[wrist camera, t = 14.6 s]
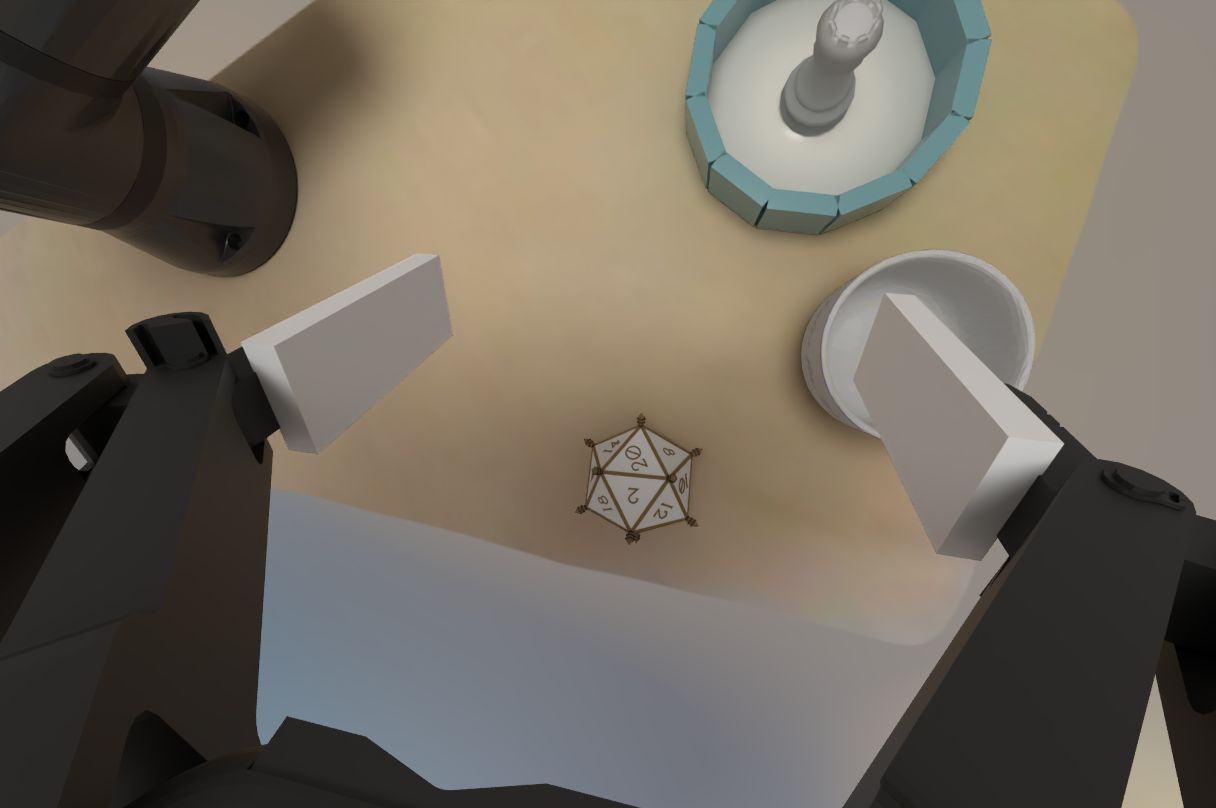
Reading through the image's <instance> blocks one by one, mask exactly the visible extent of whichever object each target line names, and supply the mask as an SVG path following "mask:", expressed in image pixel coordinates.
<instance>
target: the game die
mask: <svg viewBox="0 0 1216 808" xmlns="http://www.w3.org/2000/svg"><path fill="white" fill-rule="evenodd" d="M637 419H638V421H637V423H638V426H636V427H634V428H632V429H629V430H627V431H625V432H623V433H620V434H618V435H616V436H613V437H611V438H609V439H607V440H604V441H602V442H600V443H597V444H594V443H593V441H591V439H584V441H585V443H586V445H588V447H592V454H591V462H590V470H589V478H588V487H587V495H586V503H585V505H584V506H582V505H581V506H580V507H578V508H577V510H576V511H575V513H580V514H582V513H583V512H585V511H586V510H587V509H588V510H590V511H592V512H593V513H595V514H597V515H598V516H600V517H602V518H604V519H605V520H607V521H609V522H611V523H612V524H614V525H616V526H618V527H619V528H621V529H623V530H625V531H626V532H628V534H626V538H625V539H626V541H627V542H628V544H629V545H630V544H631V542H633V541H635V542H636V543H637V541H639V539H640V535H639V533H641V532H644V531H648V530H651V529H655V528H658V527H662V526H666V525H669V524H673V523H676V522H680V521H683V520H686V521H687V522H688V524H690V525H691V526H697V527H698V525H697V523H696V521H695V520H694V519H693V518H691V517H689V516H688V510H689V495H690V481H691V466H692V457H693V456H697V455H700V453H701V451H702V450H703V449H699V448H696V449H694V450H693V451H692V452H688V451H686V450H685V449H683V448H681V447H679V446H678V445H676V444H674V443H672V442H671V441H669V440H667V439H666V438H664V437H662V436H660V435H659V434H657V433H655V432H653V431H652V430H650V429H648V428H647V427H645V426H644V423H645V417H644V416H643V414H642V413H641V414H640V416H639V417H638V418H637ZM633 533H634V534H633Z"/></svg>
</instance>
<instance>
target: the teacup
mask: <svg viewBox="0 0 1216 808" xmlns="http://www.w3.org/2000/svg"><path fill="white" fill-rule="evenodd" d="M884 293H893V294H904V295H915V296H916V297H917V298H918V299H919V300H920V301H921V302H922V303H923V304H924V305H925V306H926V307H927V308H928V309H929V310H930V311H931V312H932V313H933V314H934V315H935V316H936V317H937V318H938V319H939V320H940V321H941V322H942V323H943V324H944V325H945V326H946V327H947V328H948V329H949V330H950V331H951V332H952V333H953V334H954V335H955V336H956V337H957V338H958V339H959V340H960V341H961V342H962V343H963V344H964V345H965V346H966V347H967V348H968V349H969V350H970V351H971V352H972V353H973V354H974V355H975V356H976V357H977V358H978V359H979V360H980V361H981V362H982V363H983V364H984V365H985V366H986V367H987V368H988V369H989V370H990V371H991V372H992V373H993V374H994V375H996V376H997V377H998V378H999V379H1000V380H1001V381H1002V382H1003V383H1006V384H1010V385H1011V386H1013V387H1015V388H1017V389H1018V390H1020V391H1022V390H1023V388H1024V386H1025V384H1026V383H1027V381H1028V378H1029V376H1030V373H1031V369H1032V366H1033V361H1034V356H1035V334H1034V323H1033V319H1032V316H1031V313H1030V310H1029V308H1028V306H1027V304H1026V302H1025V300H1024V298H1023V296H1022V294H1021V293H1020V291H1019V290H1018V289H1017V288H1016V286H1015V285H1014V284H1013V283H1012V282H1011V281H1010V280H1009V279H1008V278H1007V277H1006V276H1005V275H1004V274H1003V273H1002V272H1000V271H999V270H997V269H996V268H995V267H993V266H992V265H990V264H988V263H987V262H985V261H983V260H981V259H979V258H976V257H973V256H971V255H968V254H964V253H961V252H956V251H952V250H921V251H913V252H907V253H904V254H900V255H897V256H893V257H890V258H888V259H886V260H883V261H881V262H879V263H877V264H875V265H873V266H872V267H870V268H868V269H867V270H865V271H864V272H862V273H861V274H859V275H858V276H857V277H856V278H854V279H852V280H850V281H849V282H847V283H846V284H844V285H843V286H841V287H840V288H839V289H837V290H836V291H835V292H833V293H832V294H831V295H830V296H829V297H828V298H827V299H826V300H825V301H824V302H823V303H822V304H821V305H820V306H819V308H818V309H817V310H816V312H815V313H814V315H813V316H812V318H811V320H810V322H809V324H808V326H807V328H806V331H805V334H804V338H803V342H802V349H801V364H802V370H803V375H804V378H805V381H806V384H807V386H808V388H809V390H810V392H811V394H812V395H813V397H814V398H815V399H816V401H817V402H818V403H819V404H820V406H821V407H822V408H823V409H824V410H826V411H827V412H828V413H829V414H830V415H831V416H833V417H834V418H836V419H837V420H839V421H840V422H842V423H844V424H846V425H848V426H850V427H852V428H855V429H857V430H860V431H862V432H865V433H868V434H870V435H872V436H874V437H876V438H878V439H881V437H880V435H879V433H878V431H877V429H876V427H875V425H874V423H873V421H872V419H871V417H870V415H869V412H868V410H867V408H866V406H865V404H864V402H863V400H862V398H861V396H860V394H859V392H858V390H857V388H856V385H855V383H854V381H853V379H854V376H855V373H856V370H857V367H858V365H859V362H860V359H861V356H862V354H863V351H864V348H865V345H866V343H867V340H868V337H869V334H870V331H871V329H872V326H873V323H874V320H875V318H876V315H877V312H878V309H879V306H880V304H881V301H882V298H883V295H884Z"/></svg>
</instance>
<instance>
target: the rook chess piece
mask: <svg viewBox="0 0 1216 808" xmlns="http://www.w3.org/2000/svg"><path fill="white" fill-rule="evenodd" d="M883 10H884V9H883V6H882V2H881V0H879V1H878V2H876V3H874V2H873V1H872V0H837V1H835V2H833V3H832V4H831V5H830V6H829V7H828V8H827V9H826V10H825V11H824V12H823V14H822V16H821V18H820V20H819V22H818V24H817V31H816V41H815V43H814V49H813V55H812V56H810V57H808V58H805V59H804V60H803V61H802V62H801V63H800V64H799V65H798V66H797V67H796V68H795V69H794V70H793V71H792V72H791V74H790V76H789V78H788V79H787V81H786V83H785V85H784V87H783V90H782V92H781V99H780V108H781V112H782V115H783V118H784V120H785V121H786V122H787V123H788V124H789V125H790V126H791V128H792V129H794V130H797V131H799V132H802V133H804V134H819V133H822V132H824V131H827V130H829V129H831V128H833V127H834V126H835V125H836V124H837V123H838V122H840V121H841V120H842V119H843V118H844V116H845V114H846V112H847V110H848V108H849V106H850V104H851V102H852V100H853V98H854V93H855V84H856V78H855V74H854V70H855V69H856V68H857V67H858V66H859V65H860V64H861V63H862V61H863V59H864V58H865V57H866V56H867V55H868V54H869V53H870V52H872V51H873V50H874V49H875V48H876V46H877V44H878V42H879V40H880V38H881V37H882V33H883V25H884V20H883V17H882V12H883Z"/></svg>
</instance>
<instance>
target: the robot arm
mask: <svg viewBox="0 0 1216 808" xmlns="http://www.w3.org/2000/svg"><path fill="white" fill-rule="evenodd" d="M199 1H200V0H0V210H2V211H7V212H12V213H17V214H22V215H27V216H32V217H37V218H42V219H47V220H52V221H57V222H62V223H67V224H73V225H77V226H82V227H86V228H91V229H96V230H100V231H103V232H105V233H107V234H109V235H111V236H113V237H115V238H117V239H120V240H122V241H124V242H126V243H128V244H130V245H132V246H134V247H136V248H138V249H140V250H142V251H144V252H146V253H148V254H150V255H152V256H154V257H156V258H158V259H160V260H163V261H165V262H167V263H169V264H171V265H173V266H175V267H178V268H181V269H184V270H188V271H192V272H197V273H203V274H208V275H214V276H235V275H240V274H243V273H246V272H249V271H251V270H253V269H255V268H256V267H258V266H260V265H261V264H262V263H264V262H265V261H266V260H267V259H268V258H269V257H270V256H271V255H272V254H273V253H274V252H275V251H276V250H277V248H278V247H279V246H280V244H281V242H282V241H283V239H284V237H285V235H286V233H287V231H288V229H289V226H290V224H291V221H292V217H293V213H294V208H295V202H296V175H295V168H294V163H293V159H292V156H291V153H290V150H289V147H288V145H287V142H286V140H285V138H284V136H283V135H282V133H281V131H280V130H279V128H278V127H277V125H276V124H275V123H274V121H273V120H272V119H271V118H270V117H269V116H268V115H267V114H266V113H265V112H264V111H263V110H262V109H261V108H259V107H258V106H257V105H255V104H254V103H252V102H250V101H249V100H247V99H245V98H243V97H242V96H240V95H238V94H236V93H235V92H233V91H231V90H229V89H228V88H226V87H223V86H221V85H218V84H216V83H213V82H210V81H206V80H202V79H197V78H194V77H189V76H185V75H180V74H176V73H172V72H168V71H164V70H159V69H155V68H150V67H147V65H148V64H149V63H150V61H151V60H152V59H153V58H154V56H155V55H156V54H157V53H158V52H159V50H160V49H161V48H162V47H163V45H164V44H165V43H166V42H167V40H168V39H169V38H170V37H171V35H172V34H173V33H174V32H175V30H176V29H177V28H178V27H179V26H180V24H181V23H182V22H183V21H184V19H185V18H186V17H187V16H188V14H189V13H190V12H191V11H192V9H193V8H194V7H195V6H196V5H197V3H198V2H199ZM125 332H126V334H127V335H128V337H129V339H130V340H131V342H132V344H133V345H134V347H135V349H136V350H137V352H138V354H139V356H140V357H141V359H142V361H143V362H144V364H145V366H146V367H147V370H146V372H145V374H128V375H126V373H125V371H124V370H123V368H122V367H121V365H120V363H119V362H118V360H117V359H116V357H115V355H112V354H108V353H90V354H73V355H69V356H64V357H60V358H57V359H55V360H53V361H51V362H50V363H48V364H45V365H43V366H41V367H39V368H37V369H35V370H33V371H31V372H30V373H28V374H27V375H25V376H23V377H22V378H20V379H19V380H17V381H16V382H14V383H13V384H11V385H10V386H8V387H7V388H5V389H4V390H2V391H1V392H0V808H638V807H635V806H631V805H627V804H623V803H619V802H616V801H612V800H608V799H604V798H600V797H596V796H592V795H589V794H585V793H581V792H576V791H573V790H569V789H565V788H562V787H558V786H554V785H550V784H535V785H521V786H505V787H491V788H477V789H464V790H443V789H439V788H437V787H435V786H433V785H432V784H430V783H429V782H428V781H426V780H425V779H423V778H422V777H421V776H419V775H418V774H416V773H415V772H414V771H412V770H411V769H410V768H408V767H407V766H406V765H404V764H403V763H401V762H400V761H399V760H397V759H396V758H395V757H393V756H392V755H390V754H389V753H388V752H386V751H385V750H383V749H382V748H381V747H379V746H378V745H377V744H375V743H374V742H372V741H371V740H370V739H368V738H367V737H365V736H361V735H357V734H353V733H349V732H346V731H342V730H338V729H334V728H330V727H326V726H322V725H319V724H315V723H311V722H307V721H303V720H299V719H295V718H291V717H288V716H287V717H286V719H285V720H284V721H283V723H282V724H281V726H280V727H279V729H278V730H277V731H276V733H275V734H274V736H273V737H272V738H271V740H270V741H269V743H268V744H265V745H261V743H260V740H259V736H258V732H257V726H256V705H257V691H258V675H259V660H260V643H261V628H262V613H263V597H264V582H265V566H266V551H267V535H268V518H269V503H270V489H271V473H272V458H273V451H272V448H271V446H270V444H269V442H268V440H267V437H268V436H270V435H271V434H273V433H274V432H275V431H277V430H278V429H280V431H281V433H282V435H283V438H284V440H285V442H286V444H287V447H288V449H289V450H295V451H301V452H307V453H313V454H319V453H320V452H321V451H322V450H323V449H325V448H326V447H327V446H328V445H329V444H330V443H331V442H332V441H334V440H335V439H336V438H337V437H338V436H339V435H340V434H342V433H343V432H344V431H345V430H346V429H347V428H348V427H349V426H351V425H352V424H353V423H354V422H355V421H356V420H357V419H359V418H360V417H361V416H362V415H363V414H364V413H365V412H367V411H368V410H369V409H370V408H371V407H372V406H373V405H374V404H376V403H377V402H378V401H379V400H380V399H381V398H382V397H384V396H385V395H386V394H387V393H388V392H389V391H390V390H391V389H393V388H394V387H395V386H396V385H397V384H398V383H399V382H401V381H402V380H403V379H404V378H405V377H406V376H407V375H408V374H410V373H411V372H412V371H413V370H414V369H415V368H416V367H418V366H419V365H420V364H421V363H422V362H423V361H424V360H426V359H427V358H428V357H429V356H430V355H431V354H432V353H433V352H435V351H436V350H437V349H438V348H439V347H440V346H441V345H443V344H444V343H445V342H446V341H447V340H448V339H449V338H450V337H452V336H453V333H452V327H451V321H450V316H449V310H448V304H447V298H446V293H445V287H444V281H443V275H442V269H441V264H440V258H439V255H431V254H419V253H416V254H414V255H412V256H410V257H408V258H406V259H404V260H402V261H400V262H398V263H396V264H394V265H392V266H390V267H388V268H387V269H385V270H383V271H381V272H379V273H377V274H375V275H373V276H371V277H369V278H367V279H365V280H363V281H361V282H359V283H357V284H355V285H353V286H351V287H349V288H347V289H345V290H343V291H341V292H339V293H337V294H335V295H333V296H331V297H329V298H327V299H325V300H323V301H321V302H319V303H317V304H315V305H313V306H311V307H309V308H307V309H305V310H303V311H301V312H299V313H297V314H295V315H293V316H291V317H289V318H287V319H285V320H283V321H281V322H279V323H277V324H275V325H273V326H271V327H269V328H268V329H266V330H264V331H262V332H260V333H258V334H256V335H254V336H252V337H250V338H248V339H246V340H244V341H242V342H241V344H242V347H241V348H239V349H237V350H235V351H233V352H231V353H229V354H227V353H226V351H225V349H224V347H223V345H222V343H221V341H220V338H219V336H218V334H217V332H216V330H215V328H214V326H213V324H212V322H211V320H210V317H209V315H207V314H204V313H201V312H181V313H172V314H167V315H161V316H157V317H153V318H150V319H146V320H143V321H141V322H139V323H136V324H134V325H132V326H130V327H129V328H128V329H127V330H125ZM853 381H854V383H855V385H856V388H857V390H858V392H859V394H860V396H861V398H862V400H863V402H864V404H865V406H866V408H867V410H868V412H869V415H870V417H871V419H872V421H873V423H874V425H875V427H876V429H877V431H878V433H879V435H880V437H881V440H882V442H883V444H884V446H885V448H886V450H887V452H888V454H889V456H890V458H891V460H892V462H893V464H894V467H895V469H896V471H897V473H898V475H899V477H900V479H901V481H902V483H903V485H904V487H905V489H906V492H907V494H908V496H909V498H910V500H911V502H912V504H913V506H914V508H915V510H916V512H917V514H918V517H919V519H920V521H921V523H922V525H923V527H924V529H925V531H926V533H927V535H928V537H929V539H930V541H931V544H932V546H933V548H934V550H935V552H936V554H941V555H948V556H954V557H960V558H966V559H972V560H979V561H981V560H982V559H983V558H984V556H985V555H986V553H987V552H988V551H989V549H990V548H991V546H992V545H993V544H994V542H995V541H996V539H997V538H998V539H999V541H1000V542H1001V544H1002V545H1003V547H1004V548H1005V550H1006V551H1007V553H1008V554H1009V557H1008V558H1007V560H1006V561H1005V562H1004V564H1003V565H1002V566H1001V568H1000V569H999V570H998V572H997V573H996V574H995V576H994V577H993V578H992V580H991V581H990V582H989V584H988V585H987V586H986V588H985V589H984V590H983V591H982V593H981V594H980V596H981V598H980V599H979V601H978V602H977V604H976V605H975V607H974V609H973V610H972V612H971V613H970V615H969V616H968V618H967V619H966V621H965V622H964V624H963V625H962V627H961V628H960V630H959V631H958V633H957V634H956V636H955V637H954V639H953V640H952V642H951V643H950V645H949V646H948V648H947V650H946V651H945V652H944V654H943V656H942V657H941V659H940V660H939V662H938V663H937V665H936V666H935V668H934V669H933V671H932V673H931V674H930V675H929V677H928V678H927V680H926V681H925V683H924V684H923V686H922V687H921V689H920V690H919V692H918V694H917V695H916V697H915V698H914V700H913V701H912V703H911V704H910V706H909V707H908V709H907V710H906V712H905V713H904V715H903V717H902V718H901V719H900V721H899V722H898V724H897V726H896V727H895V728H894V730H893V732H892V733H891V735H890V736H889V738H888V739H887V741H886V742H885V744H884V745H883V747H882V748H881V750H880V751H879V753H878V754H877V756H876V757H875V759H874V760H873V762H872V763H871V765H870V767H869V768H868V769H867V771H866V773H865V774H864V776H863V777H862V779H861V780H860V782H859V783H858V785H857V786H856V788H855V789H854V791H853V792H852V794H851V795H850V797H849V799H848V800H847V802H846V803H845V805H844V806H843V807H842V808H1121V806H1122V802H1123V799H1124V795H1125V791H1126V787H1127V783H1128V779H1129V775H1130V771H1131V767H1132V763H1133V759H1134V755H1135V751H1136V747H1137V744H1138V740H1139V736H1140V732H1141V728H1142V724H1143V720H1144V716H1145V712H1146V708H1147V704H1148V700H1149V696H1150V692H1151V688H1152V684H1153V681H1154V676H1155V674H1156V679H1157V683H1158V688H1159V693H1160V698H1161V702H1162V707H1163V711H1164V716H1165V721H1166V726H1167V730H1168V735H1169V739H1170V744H1171V749H1172V754H1173V759H1174V763H1175V768H1176V772H1177V777H1178V782H1179V787H1180V791H1181V796H1182V801H1183V805H1184V808H1216V520H1212V519H1209V518H1205V517H1201V516H1198V515H1196V511H1195V508H1194V504H1193V503H1192V502H1191V501H1190V500H1189V499H1188V498H1187V497H1186V496H1185V495H1184V494H1183V493H1182V492H1181V491H1180V490H1178V489H1176V488H1175V487H1174V486H1172V485H1170V484H1169V483H1167V482H1166V481H1164V480H1162V479H1160V478H1158V477H1156V476H1154V475H1152V474H1149V473H1147V472H1145V471H1143V470H1140V469H1137V468H1134V467H1131V466H1128V465H1125V464H1122V463H1118V462H1112V461H1107V460H1101V459H1097V458H1096V457H1094V456H1093V455H1092V454H1091V453H1090V452H1089V451H1088V450H1087V449H1086V448H1085V447H1084V446H1083V445H1082V444H1081V443H1080V442H1079V441H1078V440H1076V439H1075V438H1074V437H1073V436H1072V435H1071V434H1070V433H1069V432H1068V431H1067V430H1066V429H1065V428H1064V427H1060V423H1059V422H1057V421H1056V420H1055V419H1054V418H1053V417H1052V416H1051V415H1048V414H1047V411H1046V410H1045V409H1044V408H1043V407H1042V406H1041V405H1039V404H1038V403H1037V402H1036V401H1035V400H1034V399H1033V398H1032V397H1030V396H1029V395H1027V394H1025V393H1023V392H1022V391H1020V390H1018V389H1017V388H1015V387H1013V386H1011V385H1010V384H1006V383H1003V382H1002V381H1001V380H1000V379H999V378H998V377H997V376H996V375H994V374H993V373H992V372H991V371H990V370H989V369H988V368H987V367H986V366H985V365H984V364H983V363H982V362H981V361H980V360H979V359H978V358H977V357H976V356H975V355H974V354H973V353H972V352H971V351H970V350H969V349H968V348H967V347H966V346H965V345H964V344H963V343H962V342H961V341H960V340H959V339H958V338H957V337H956V336H955V335H954V334H953V333H952V332H951V331H950V330H949V329H948V328H947V327H946V326H945V325H944V324H943V323H942V322H941V321H940V320H939V319H938V318H937V317H936V316H935V315H934V314H933V313H932V312H931V311H930V310H929V309H928V308H927V307H926V306H925V305H924V304H923V303H922V302H921V301H920V300H919V299H918V298H917V297H916V296H915V295H904V294H893V293H884V295H883V298H882V301H881V304H880V306H879V309H878V312H877V315H876V318H875V320H874V323H873V326H872V329H871V331H870V334H869V337H868V340H867V343H866V345H865V348H864V351H863V354H862V356H861V359H860V362H859V365H858V367H857V370H856V373H855V376H854V379H853ZM68 437H69V438H70V440H71V441H72V442H73V444H74V445H75V446H76V447H77V448H78V450H79V451H80V453H81V454H82V455H83V457H84V458H85V459H86V460H87V463H86V465H84V466H83V467H82V469H80V470H78V469H76V468H75V467H74V466H73V465H72V463H71V462H70V461H69V459H68V456H67V454H66V452H65V446H66V440H67V439H68Z"/></svg>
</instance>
